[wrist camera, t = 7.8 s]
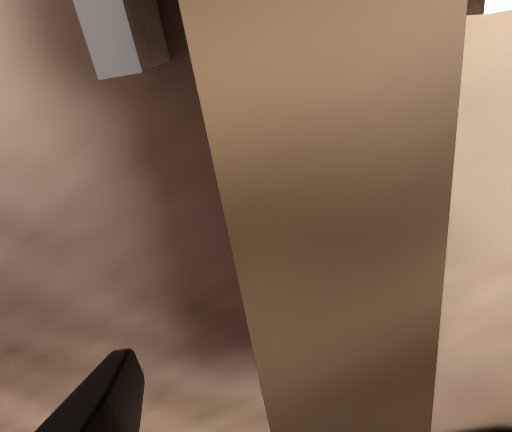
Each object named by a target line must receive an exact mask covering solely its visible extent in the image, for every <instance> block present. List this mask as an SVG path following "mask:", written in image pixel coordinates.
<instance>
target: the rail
mask: <svg viewBox="0 0 512 432" xmlns="http://www.w3.org/2000/svg"><path fill="white" fill-rule="evenodd" d="M467 1H468V0H178V2H179V7H180V11H181V16H182V21H183V25H184V30H185V35H186V39H187V44H188V49H189V53H190V58H191V63H192V67H193V72H194V77H195V81H196V86H197V91H198V95H199V100H200V105H201V109H202V114H203V119H204V124H205V128H206V133H207V138H208V142H209V147H210V152H211V156H212V161H213V166H214V170H215V175H216V180H217V184H218V189H219V194H220V198H221V203H222V208H223V212H224V217H225V222H226V226H227V231H228V236H229V240H230V245H231V250H232V255H233V259H234V264H235V269H236V273H237V278H238V283H239V287H240V292H241V297H242V301H243V306H244V311H245V315H246V320H247V325H248V329H249V334H250V339H251V343H252V348H253V353H254V357H255V362H256V367H257V371H258V376H259V381H260V385H261V390H262V395H263V400H264V404H265V409H266V414H267V418H268V423H269V428H270V432H431V421H432V409H433V397H434V386H435V374H436V363H437V351H438V339H439V328H440V316H441V304H442V293H443V281H444V269H445V258H446V246H447V234H448V223H449V211H450V199H451V188H452V176H453V164H454V153H455V141H456V130H457V118H458V106H459V95H460V83H461V71H462V60H463V48H464V36H465V25H466V13H467Z"/></svg>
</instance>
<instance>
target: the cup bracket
mask: <svg viewBox="0 0 512 432" xmlns="http://www.w3.org/2000/svg"><path fill="white" fill-rule="evenodd" d="M72 1H73V4H74V7H75V10H76V13H77V16H78V19H79V22H80V25H81V28H82V31H83V35H84V38H85V41H86V44H87V47H88V50H89V53H90V56H91V59H92V62H93V65H94V68H95V71H96V74H97V78H98V80H103V79H109V78H114V77H120V76H126V75H132V74H138V73H143V72H145V71H147V70H149V69H151V68H153V67H156V66H158V65H160V64H162V63H164V62H166V61H168V60H170V57H169V53H168V48H167V44H166V40H165V36H164V32H163V27H162V23H161V19H160V15H159V11H158V7H157V2H156V0H72ZM511 9H512V0H468V1H467V13H466V15H478V14H488V13H494V12H500V11H506V10H511Z"/></svg>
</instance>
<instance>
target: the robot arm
mask: <svg viewBox="0 0 512 432" xmlns="http://www.w3.org/2000/svg"><path fill="white" fill-rule="evenodd" d="M143 393H144V375H143V372H142V369H141V367H140V364H139V362H138V360H137V357H136V355H135V353H134V351H133V350H132V349H130V348H127V349H120V350H115V351H112V352H111V353H110V354H109V355H108V356H107V357H106V358H105V359H104V360H103V361H102V362H101V363H100V364H99V365H98V366H97V367H96V368H95V369H94V370H93V371H92V372H91V373H90V375H89V376H88V377H87V378H86V379H85V380H84V381H83V382H82V383H81V384H80V385H79V386H78V387H77V388H76V389H75V390H74V391H73V392H72V393H71V394H70V395H69V396H68V397H67V398H66V399H65V400H64V401H63V403H62V404H61V405H60V406H59V407H58V408H57V409H56V410H55V411H54V412H53V413H52V414H51V415H50V416H49V417H48V418H47V419H46V420H45V421H44V422H43V423H42V424H41V425H40V426H39V427H38V428H37V430H36V431H35V432H139V429H140V420H141V411H142V402H143Z"/></svg>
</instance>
